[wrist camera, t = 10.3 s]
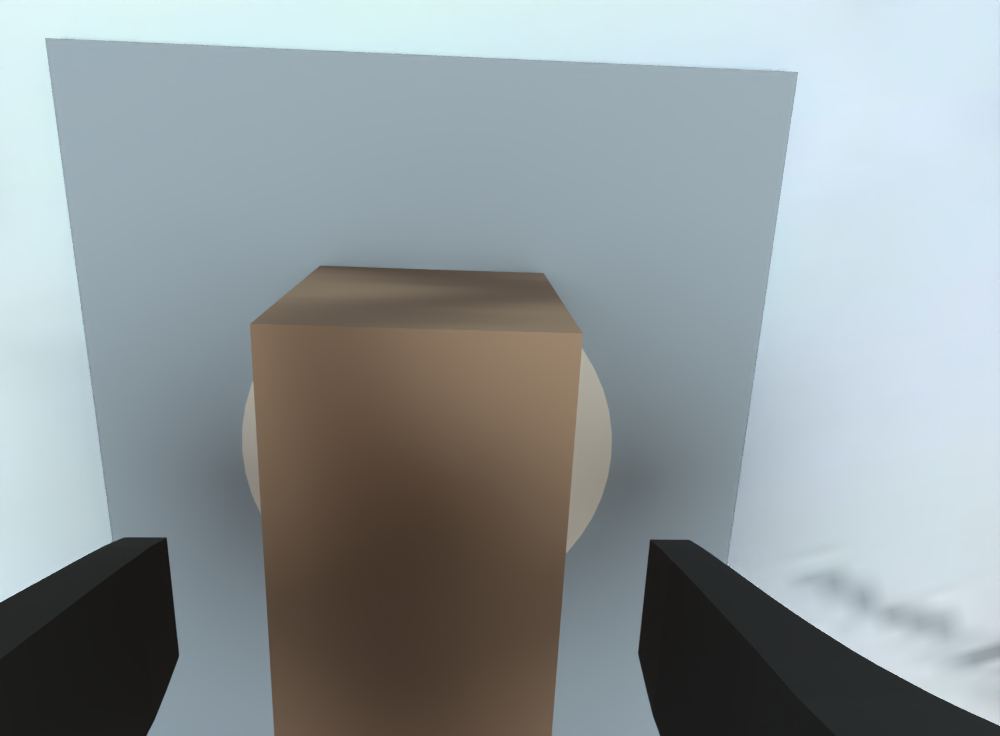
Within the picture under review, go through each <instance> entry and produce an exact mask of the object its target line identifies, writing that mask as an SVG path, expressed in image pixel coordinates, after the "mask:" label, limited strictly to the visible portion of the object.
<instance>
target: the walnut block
mask: <svg viewBox="0 0 1000 736" xmlns="http://www.w3.org/2000/svg"><path fill="white" fill-rule="evenodd" d="M250 334H251V351H252V368H253V385H254V401H255V418H256V435H257V452H258V469H259V486H260V503H261V520H262V537H263V554H264V571H265V588H266V605H267V621H268V638H269V655H270V672H271V689H272V706H273V723H274V736H552V726H553V713H554V700H555V687H556V674H557V661H558V648H559V635H560V623H561V610H562V597H563V584H564V571H565V558H566V545H567V532H568V519H569V506H570V493H571V480H572V468H573V455H574V442H575V429H576V416H577V403H578V390H579V377H580V364H581V351H582V338H583V333H582V331H581V330H580V328H579V327H578V325H577V324H576V322H575V321H574V319H573V318H572V316H571V315H570V313H569V311H568V310H567V308H566V307H565V305H564V304H563V302H562V301H561V299H560V298H559V296H558V295H557V293H556V291H555V290H554V288H553V287H552V285H551V284H550V282H549V281H548V279H547V278H546V276H545V275H544V273H519V272H490V271H460V270H431V269H401V268H371V267H342V266H319V267H318V268H317V269H315V270H314V271H313V272H312V273H311V274H309V275H308V276H307V277H306V278H305V279H303V280H302V281H301V282H300V283H299V284H297V285H296V286H295V287H294V288H292V289H291V290H290V291H289V292H288V293H286V294H285V295H284V296H283V297H282V298H280V299H279V300H278V301H277V302H276V303H274V304H273V305H272V306H271V307H270V308H268V309H267V310H266V311H265V312H264V313H262V314H261V315H260V316H259V317H258V318H256V319H255V320H254V321H253V322H252V323H250Z"/></svg>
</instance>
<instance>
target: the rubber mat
mask: <svg viewBox="0 0 1000 736" xmlns="http://www.w3.org/2000/svg"><path fill="white" fill-rule="evenodd" d="M45 40H46V48H47V55H48V63H49V70H50V78H51V85H52V93H53V100H54V107H55V115H56V122H57V130H58V137H59V145H60V152H61V160H62V167H63V175H64V182H65V189H66V197H67V204H68V212H69V219H70V227H71V234H72V242H73V249H74V256H75V264H76V271H77V279H78V286H79V294H80V301H81V309H82V316H83V323H84V331H85V338H86V346H87V353H88V361H89V368H90V376H91V383H92V390H93V398H94V405H95V413H96V420H97V428H98V435H99V443H100V450H101V458H102V465H103V472H104V480H105V487H106V495H107V502H108V510H109V517H110V525H111V532H112V539H113V542H114V541H117V540H119V539H121V538H124V537H167V544H168V554H169V563H170V573H171V582H172V591H173V601H174V610H175V620H176V629H177V638H178V648H179V658H178V661H177V664H176V666H175V669H174V672H173V675H172V677H171V680H170V683H169V685H168V688H167V691H166V693H165V696H164V698H163V701H162V703H161V706H160V708H159V711H158V713H157V715H156V718H155V720H154V722H153V724H152V726H151V728H150V730H149V732H148V734H147V736H274V723H273V706H272V689H271V672H270V655H269V638H268V621H267V605H266V588H265V571H264V554H263V537H262V520H261V503H260V486H259V469H258V452H257V435H256V418H255V401H254V385H253V368H252V351H251V334H250V323H252V322H253V321H254V320H255V319H256V318H258V317H259V316H260V315H261V314H262V313H264V312H265V311H266V310H267V309H268V308H270V307H271V306H272V305H273V304H274V303H276V302H277V301H278V300H279V299H280V298H282V297H283V296H284V295H285V294H286V293H288V292H289V291H290V290H291V289H292V288H294V287H295V286H296V285H297V284H299V283H300V282H301V281H302V280H303V279H305V278H306V277H307V276H308V275H309V274H311V273H312V272H313V271H314V270H315V269H317V268H318V267H319V266H342V267H371V268H401V269H431V270H460V271H490V272H519V273H544V275H545V276H546V278H547V279H548V281H549V282H550V284H551V285H552V287H553V288H554V290H555V291H556V293H557V295H558V296H559V298H560V299H561V301H562V302H563V304H564V305H565V307H566V308H567V310H568V311H569V313H570V315H571V316H572V318H573V319H574V321H575V322H576V324H577V325H578V327H579V328H580V330H581V331H582V333H583V338H582V351H581V364H580V377H579V390H578V403H577V416H576V429H575V442H574V455H573V468H572V480H571V493H570V506H569V519H568V532H567V545H566V558H565V571H564V584H563V597H562V610H561V623H560V635H559V648H558V661H557V674H556V687H555V700H554V713H553V726H552V736H660V734H659V731H658V729H657V726H656V723H655V720H654V718H653V715H652V711H651V707H650V703H649V699H648V695H647V691H646V687H645V682H644V678H643V673H642V669H641V665H640V660H639V656H638V648H639V639H640V629H641V620H642V610H643V601H644V591H645V582H646V573H647V563H648V554H649V544H650V539H658V540H691V541H692V542H694V543H696V544H697V545H699V546H700V547H702V548H704V549H705V550H706V551H708V552H709V553H711V554H712V555H714V556H715V557H716V558H718V559H719V560H721V561H722V562H723V563H725V564H726V565H727V559H728V552H729V546H730V539H731V532H732V525H733V518H734V511H735V504H736V497H737V490H738V483H739V476H740V469H741V462H742V456H743V449H744V442H745V435H746V428H747V421H748V414H749V407H750V400H751V393H752V386H753V379H754V373H755V366H756V359H757V352H758V345H759V338H760V331H761V324H762V317H763V310H764V303H765V296H766V289H767V283H768V276H769V269H770V262H771V255H772V248H773V241H774V234H775V227H776V220H777V213H778V206H779V199H780V193H781V186H782V179H783V172H784V165H785V158H786V151H787V144H788V137H789V130H790V123H791V116H792V110H793V103H794V96H795V89H796V82H797V75H798V72H785V71H763V70H741V69H719V68H696V67H674V66H652V65H630V64H607V63H585V62H563V61H541V60H519V59H496V58H474V57H452V56H430V55H408V54H385V53H363V52H341V51H319V50H297V49H274V48H252V47H230V46H208V45H186V44H163V43H141V42H119V41H97V40H75V39H52V38H45Z"/></svg>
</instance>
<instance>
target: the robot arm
mask: <svg viewBox="0 0 1000 736" xmlns="http://www.w3.org/2000/svg"><path fill="white" fill-rule="evenodd" d="M638 656H639V660H640V665H641V669H642V673H643V678H644V682H645V687H646V691H647V695H648V699H649V703H650V707H651V711H652V715H653V718H654V720H655V723H656V726H657V729H658V731H659V734H660V736H1000V726H999V725H996V724H994V723H992V722H990V721H988V720H985V719H983V718H981V717H979V716H976V715H974V714H972V713H970V712H968V711H965V710H963V709H961V708H959V707H957V706H955V705H953V704H951V703H949V702H947V701H945V700H943V699H941V698H938V697H936V696H934V695H932V694H930V693H928V692H926V691H925V690H923V689H921V688H919V687H917V686H915V685H913V684H912V683H910V682H908V681H906V680H904V679H902V678H900V677H898V676H897V675H895V674H893V673H891V672H889V671H887V670H885V669H884V668H882V667H880V666H878V665H876V664H875V663H873V662H871V661H869V660H868V659H866V658H864V657H862V656H861V655H859V654H857V653H856V652H854V651H852V650H851V649H849V648H848V647H846V646H844V645H843V644H841V643H840V642H838V641H836V640H835V639H833V638H832V637H830V636H828V635H827V634H825V633H824V632H822V631H821V630H819V629H817V628H816V627H814V626H813V625H811V624H810V623H808V622H807V621H805V620H804V619H802V618H801V617H799V616H798V615H796V614H795V613H793V612H792V611H790V610H789V609H787V608H786V607H785V606H783V605H782V604H780V603H779V602H777V601H776V600H775V599H773V598H772V597H770V596H769V595H767V594H766V593H765V592H763V591H762V590H760V589H759V588H758V587H756V586H755V585H754V584H752V583H751V582H749V581H748V580H747V579H745V578H744V577H743V576H741V575H740V574H738V573H737V572H736V571H734V570H733V569H732V568H730V567H729V566H727V565H726V564H725V563H723V562H722V561H721V560H719V559H718V558H716V557H715V556H714V555H712V554H711V553H709V552H708V551H706V550H705V549H704V548H702V547H700V546H699V545H697V544H696V543H694V542H692V541H691V540H658V539H650V544H649V554H648V563H647V573H646V582H645V591H644V601H643V610H642V620H641V629H640V639H639V648H638ZM178 658H179V648H178V638H177V629H176V620H175V610H174V601H173V591H172V582H171V573H170V563H169V554H168V544H167V537H124V538H121V539H119V540H117V541H114V542H112V543H110V544H108V545H106V546H104V547H102V548H100V549H98V550H96V551H94V552H92V553H90V554H88V555H86V556H84V557H82V558H81V559H79V560H77V561H75V562H73V563H71V564H70V565H68V566H66V567H64V568H62V569H61V570H59V571H57V572H55V573H53V574H51V575H50V576H48V577H46V578H44V579H42V580H41V581H39V582H37V583H35V584H33V585H31V586H30V587H28V588H26V589H24V590H22V591H21V592H19V593H17V594H15V595H13V596H11V597H10V598H8V599H6V600H4V601H2V602H1V603H0V736H147V734H148V732H149V730H150V728H151V726H152V724H153V722H154V720H155V718H156V715H157V713H158V711H159V708H160V706H161V703H162V701H163V698H164V696H165V693H166V691H167V688H168V685H169V683H170V680H171V677H172V675H173V672H174V669H175V666H176V664H177V661H178Z"/></svg>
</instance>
